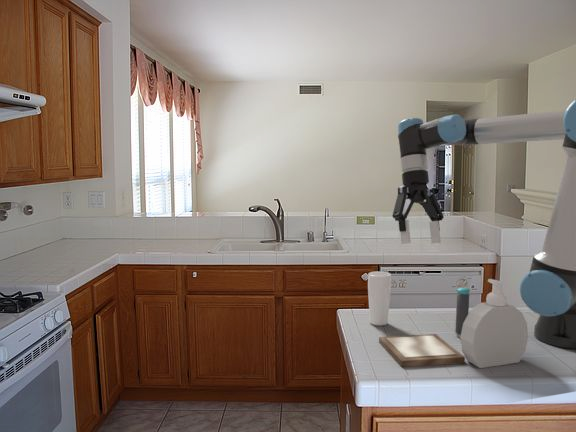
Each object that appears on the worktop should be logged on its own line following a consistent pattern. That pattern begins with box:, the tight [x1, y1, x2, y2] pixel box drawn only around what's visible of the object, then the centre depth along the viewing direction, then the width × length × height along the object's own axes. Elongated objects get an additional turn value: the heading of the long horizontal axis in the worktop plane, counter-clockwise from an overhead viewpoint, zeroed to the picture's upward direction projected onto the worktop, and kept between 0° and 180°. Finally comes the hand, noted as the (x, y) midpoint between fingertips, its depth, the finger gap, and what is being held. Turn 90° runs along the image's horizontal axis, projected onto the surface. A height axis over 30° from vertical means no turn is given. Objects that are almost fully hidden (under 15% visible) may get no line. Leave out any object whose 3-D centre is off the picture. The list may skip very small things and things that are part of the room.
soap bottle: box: [459, 278, 529, 369], centre depth 124 cm, size 16×5×20 cm, turn 108°
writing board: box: [378, 333, 466, 368], centre depth 130 cm, size 16×16×2 cm
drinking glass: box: [367, 270, 392, 327], centre depth 152 cm, size 7×7×15 cm
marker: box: [454, 287, 471, 339], centre depth 141 cm, size 3×3×13 cm
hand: (421, 243), depth 149 cm, fingers open, 13 cm apart
